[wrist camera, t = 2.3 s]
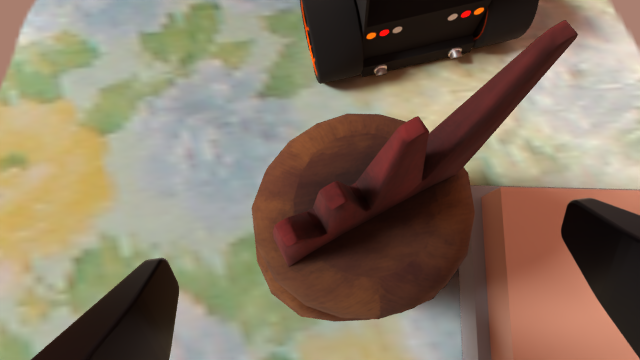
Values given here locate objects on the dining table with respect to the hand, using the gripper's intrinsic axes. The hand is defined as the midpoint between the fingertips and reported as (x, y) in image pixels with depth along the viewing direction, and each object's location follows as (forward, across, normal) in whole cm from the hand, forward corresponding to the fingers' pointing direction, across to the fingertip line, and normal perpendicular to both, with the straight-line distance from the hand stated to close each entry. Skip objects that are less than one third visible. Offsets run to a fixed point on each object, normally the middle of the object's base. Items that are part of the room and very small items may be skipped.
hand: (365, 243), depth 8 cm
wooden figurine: (+7, 0, +6) cm, 10 cm away
